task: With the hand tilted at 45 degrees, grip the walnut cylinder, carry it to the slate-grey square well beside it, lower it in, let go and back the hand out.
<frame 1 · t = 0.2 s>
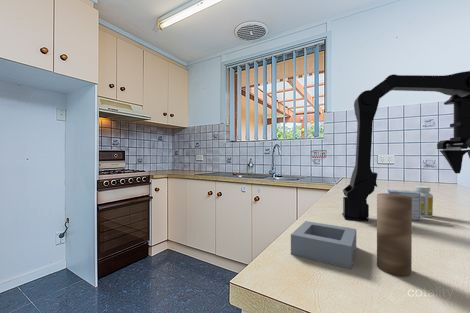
hand: (467, 174, 62), 15 cm above the table, tool pointing down, fingers open, 9 cm apart
medicine box: (403, 218, 72), on the table
well: (324, 250, 47), on the table
walnut cylinder: (393, 269, 39), on the table
supplement bottle: (421, 216, 74), on the table
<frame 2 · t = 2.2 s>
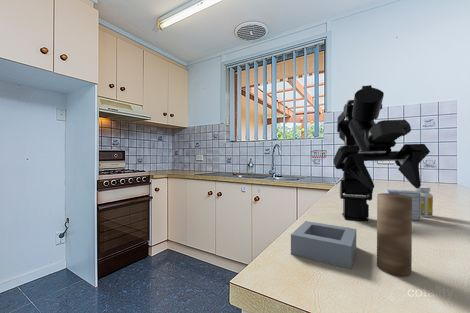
hand: (395, 187, 46), 13 cm above the table, tool tilted 40°, fingers open, 9 cm apart
nothing on the table moved.
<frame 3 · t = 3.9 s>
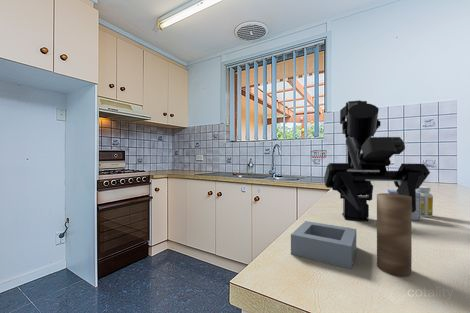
hand: (386, 210, 42), 10 cm above the table, tool tilted 45°, fingers open, 9 cm apart
nothing on the table moved.
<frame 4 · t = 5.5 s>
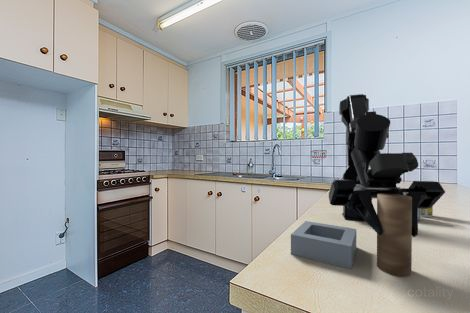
hand: (398, 234, 38), 7 cm above the table, tool tilted 45°, fingers closed on walnut cylinder, 5 cm apart
walnut cylinder: (393, 269, 39), on the table, touching gripper
everything else where it was.
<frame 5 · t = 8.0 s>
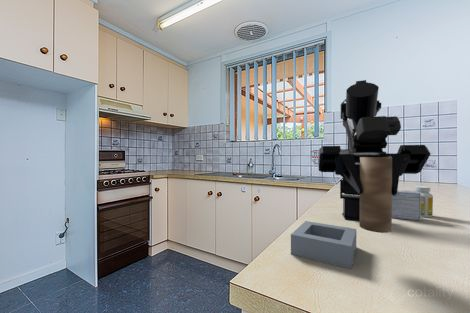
hand: (377, 193, 40), 13 cm above the table, tool tilted 45°, fingers closed on walnut cylinder, 5 cm apart
walnut cylinder: (375, 227, 41), point 7 cm above the table, touching gripper
everything else where it was.
when the fingers open (8 cm above the table, at t = 10.7 s): walnut cylinder drops 1 cm, resting in well.
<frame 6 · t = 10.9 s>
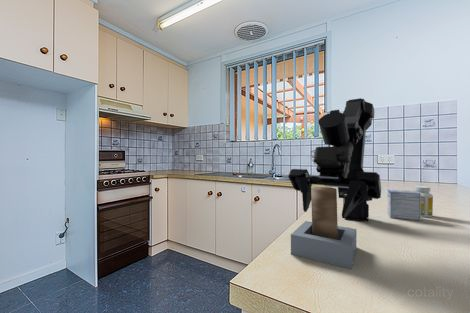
hand: (322, 213, 46), 8 cm above the table, tool tilted 45°, fingers open, 7 cm apart
walnut cylinder: (325, 250, 47), resting in well
everything else where it was.
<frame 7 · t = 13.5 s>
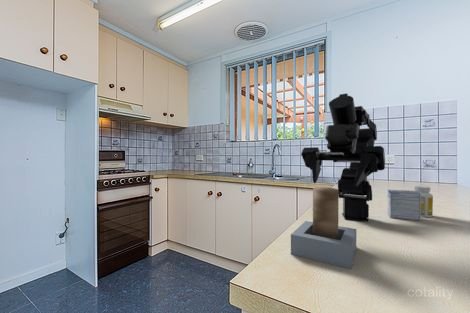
hand: (333, 183, 52), 14 cm above the table, tool tilted 45°, fingers open, 9 cm apart
nothing on the table moved.
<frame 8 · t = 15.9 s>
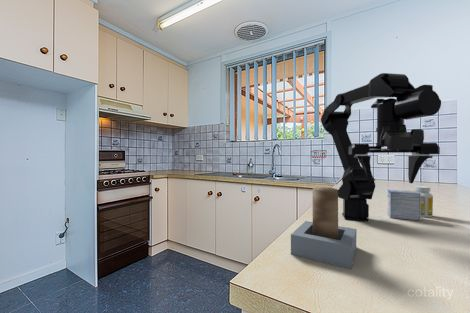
hand: (389, 182, 58), 13 cm above the table, tool pointing down, fingers open, 9 cm apart
nothing on the table moved.
at the end: walnut cylinder 0.1 cm off-centre on the well, point 0.0 cm above the well's base; walnut cylinder tilted 0°; the gripper is holding nothing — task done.
